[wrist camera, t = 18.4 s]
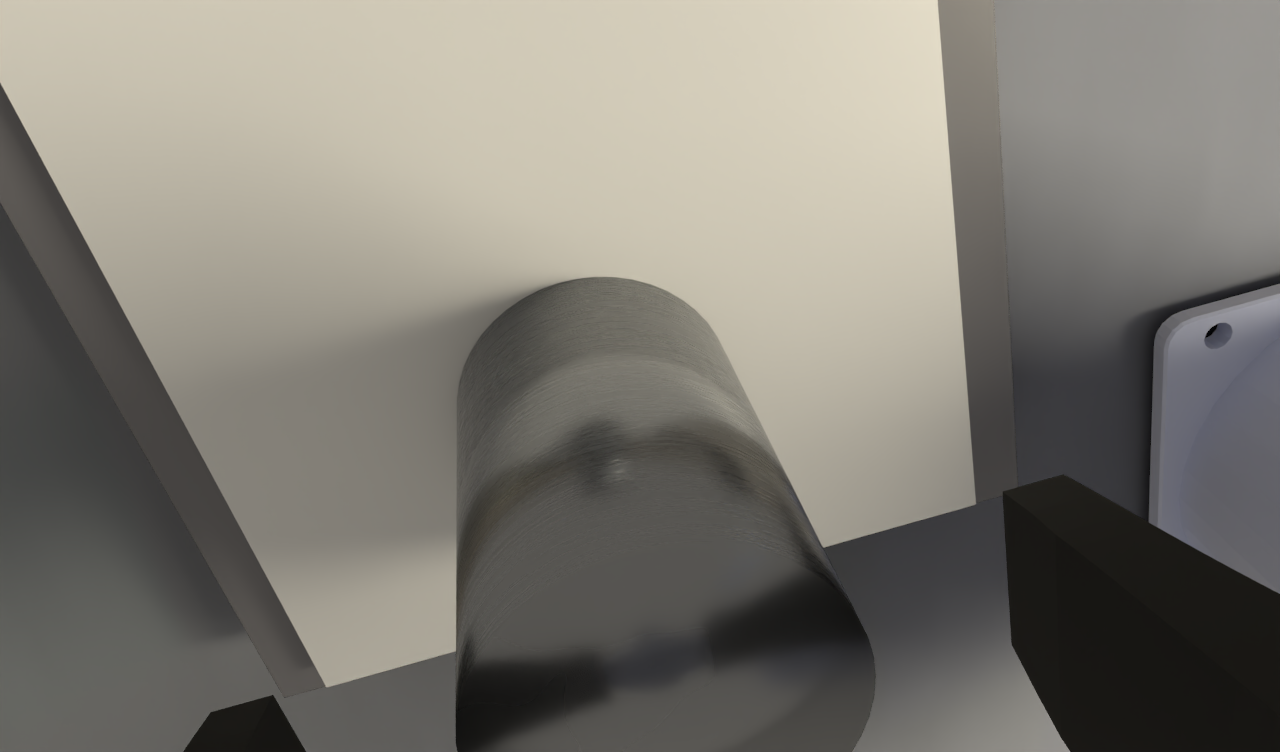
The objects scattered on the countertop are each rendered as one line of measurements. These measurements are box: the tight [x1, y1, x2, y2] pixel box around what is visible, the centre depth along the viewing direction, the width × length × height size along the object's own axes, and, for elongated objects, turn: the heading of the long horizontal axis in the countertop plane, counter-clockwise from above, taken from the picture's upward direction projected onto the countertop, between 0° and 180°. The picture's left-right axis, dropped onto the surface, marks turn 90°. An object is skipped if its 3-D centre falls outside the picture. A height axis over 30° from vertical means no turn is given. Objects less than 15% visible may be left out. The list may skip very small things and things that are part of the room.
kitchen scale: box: [0, 0, 1018, 698], centre depth 13 cm, size 13×19×3 cm
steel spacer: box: [456, 277, 876, 752], centre depth 12 cm, size 4×4×6 cm
